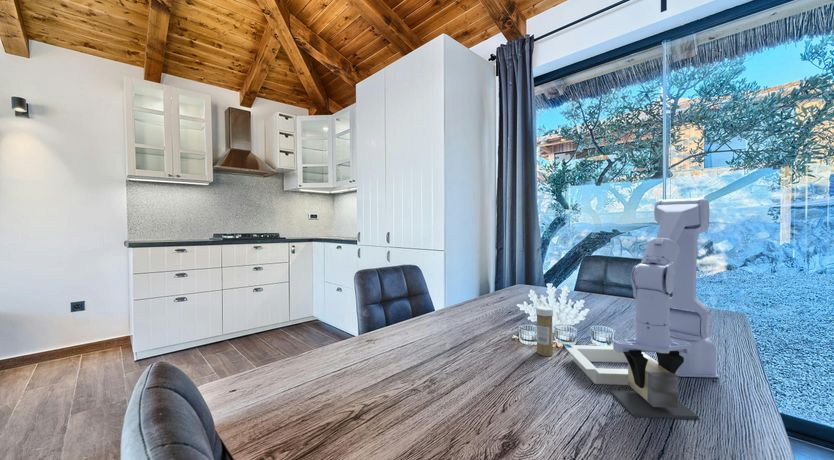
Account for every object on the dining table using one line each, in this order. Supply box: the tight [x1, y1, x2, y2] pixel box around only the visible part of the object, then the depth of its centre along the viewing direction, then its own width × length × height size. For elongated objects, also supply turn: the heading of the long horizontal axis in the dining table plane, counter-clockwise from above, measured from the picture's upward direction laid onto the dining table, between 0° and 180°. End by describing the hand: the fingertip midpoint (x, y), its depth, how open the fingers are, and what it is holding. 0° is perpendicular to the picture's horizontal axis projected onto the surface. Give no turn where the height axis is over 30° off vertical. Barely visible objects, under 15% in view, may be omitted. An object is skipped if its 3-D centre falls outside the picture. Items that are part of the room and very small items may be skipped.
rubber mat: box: [610, 389, 700, 420], centre depth 68 cm, size 12×9×1 cm
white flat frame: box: [565, 344, 658, 386], centre depth 83 cm, size 19×17×4 cm
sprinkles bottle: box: [535, 305, 554, 357], centre depth 95 cm, size 5×5×13 cm
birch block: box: [627, 358, 679, 408], centre depth 68 cm, size 5×9×6 cm, turn 175°
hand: (651, 386), depth 68 cm, fingers closed on birch block, 4 cm apart
